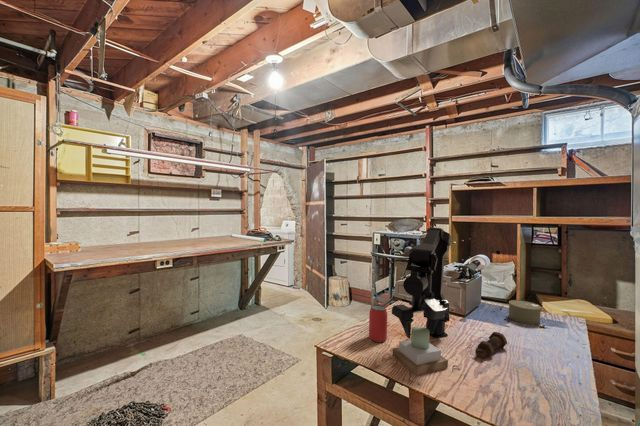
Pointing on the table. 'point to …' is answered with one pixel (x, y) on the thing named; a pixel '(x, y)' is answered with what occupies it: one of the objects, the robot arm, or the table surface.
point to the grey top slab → (419, 353)
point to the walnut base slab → (421, 367)
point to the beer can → (378, 323)
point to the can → (524, 312)
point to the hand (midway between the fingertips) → (420, 335)
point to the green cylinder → (420, 337)
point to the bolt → (491, 345)
